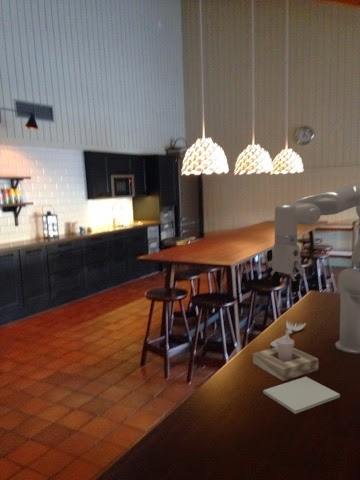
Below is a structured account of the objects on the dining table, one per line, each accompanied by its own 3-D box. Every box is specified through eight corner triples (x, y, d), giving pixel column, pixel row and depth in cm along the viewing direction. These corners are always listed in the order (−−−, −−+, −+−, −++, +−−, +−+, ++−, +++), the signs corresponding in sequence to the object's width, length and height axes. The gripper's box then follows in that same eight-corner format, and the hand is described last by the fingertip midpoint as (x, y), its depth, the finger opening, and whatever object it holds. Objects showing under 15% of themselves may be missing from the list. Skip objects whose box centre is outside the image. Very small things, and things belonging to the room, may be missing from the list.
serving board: (305, 379, 138) (305, 376, 138) (339, 397, 126) (339, 394, 126) (263, 393, 130) (263, 390, 130) (295, 413, 118) (295, 410, 117)
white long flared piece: (306, 329, 187) (306, 321, 187) (290, 354, 159) (290, 346, 159) (286, 326, 192) (286, 319, 191) (267, 351, 163) (267, 342, 163)
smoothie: (294, 371, 145) (295, 332, 143) (276, 370, 146) (276, 331, 144) (293, 363, 151) (293, 326, 149) (275, 362, 152) (275, 325, 150)
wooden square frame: (286, 354, 159) (286, 344, 159) (318, 369, 145) (318, 358, 145) (253, 363, 152) (253, 353, 151) (283, 380, 138) (283, 369, 137)
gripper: (312, 242, 137) (311, 292, 139) (277, 237, 152) (276, 283, 154) (295, 243, 133) (295, 295, 136) (260, 238, 149) (260, 285, 151)
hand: (285, 289), depth 145 cm, fingers open, 9 cm apart
